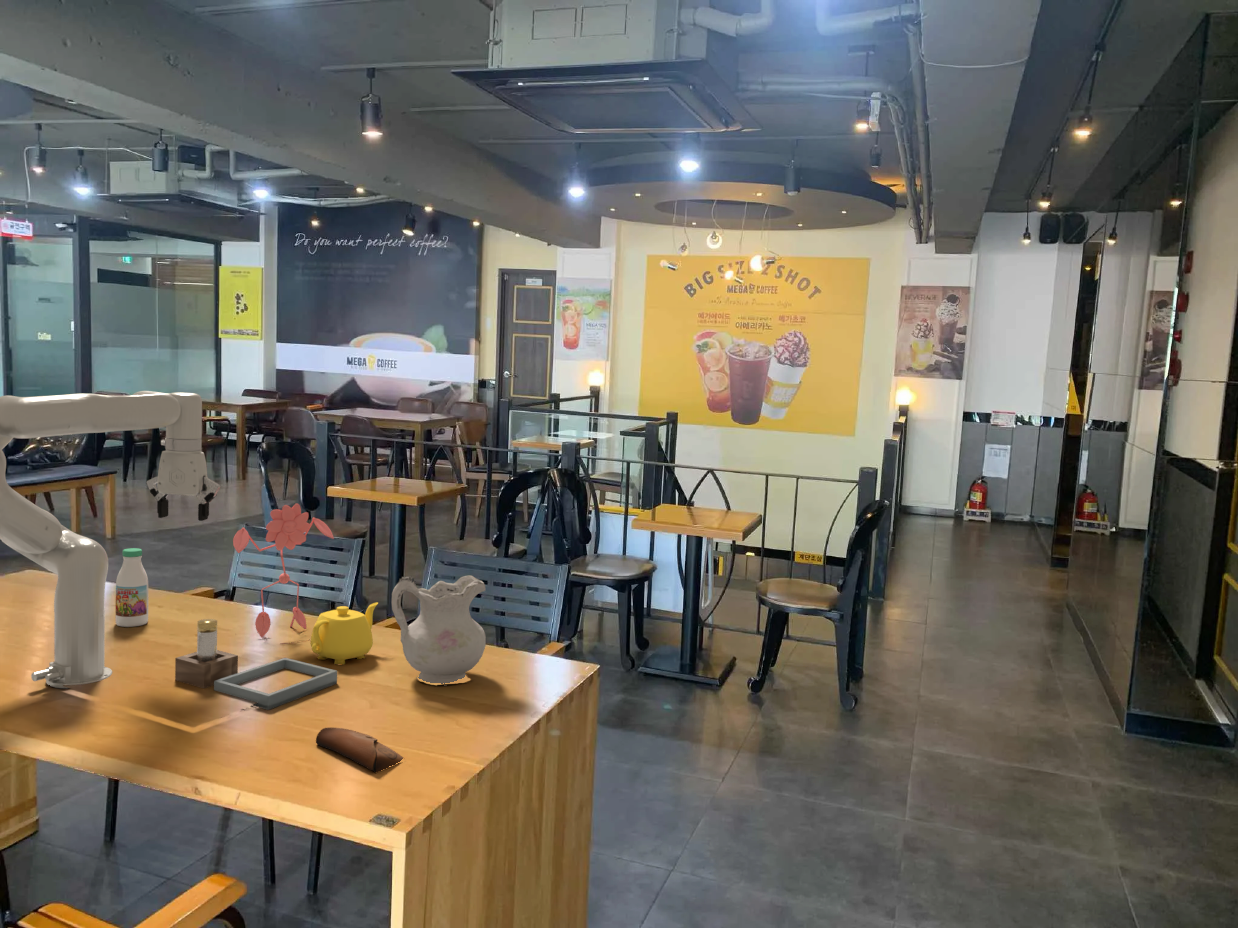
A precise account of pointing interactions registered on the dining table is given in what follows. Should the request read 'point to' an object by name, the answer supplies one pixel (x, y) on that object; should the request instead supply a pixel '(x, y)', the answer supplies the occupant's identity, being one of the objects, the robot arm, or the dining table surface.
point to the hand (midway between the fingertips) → (183, 518)
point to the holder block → (205, 669)
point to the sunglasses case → (358, 748)
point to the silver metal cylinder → (207, 640)
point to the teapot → (343, 634)
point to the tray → (279, 697)
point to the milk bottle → (132, 590)
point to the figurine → (288, 534)
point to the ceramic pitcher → (441, 629)
